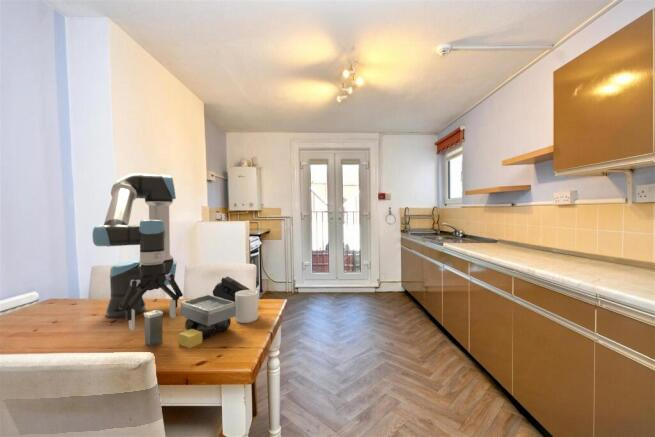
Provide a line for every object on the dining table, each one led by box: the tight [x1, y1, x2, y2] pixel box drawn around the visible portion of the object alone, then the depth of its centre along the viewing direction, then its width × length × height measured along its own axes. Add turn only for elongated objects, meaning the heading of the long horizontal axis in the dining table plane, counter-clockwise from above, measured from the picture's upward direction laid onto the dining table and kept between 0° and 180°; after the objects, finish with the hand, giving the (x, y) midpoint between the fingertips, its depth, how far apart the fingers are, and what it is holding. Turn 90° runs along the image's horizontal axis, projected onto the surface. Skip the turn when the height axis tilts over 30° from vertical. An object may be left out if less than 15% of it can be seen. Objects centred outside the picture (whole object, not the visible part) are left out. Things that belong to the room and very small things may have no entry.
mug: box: [235, 289, 259, 324], centre depth 127 cm, size 10×12×12 cm
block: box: [178, 329, 203, 349], centre depth 103 cm, size 6×5×4 cm
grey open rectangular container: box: [180, 294, 236, 339], centre depth 113 cm, size 18×13×12 cm
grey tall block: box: [143, 309, 164, 347], centre depth 103 cm, size 4×4×11 cm
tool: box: [212, 276, 251, 302], centre depth 142 cm, size 6×19×15 cm
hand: (153, 322), depth 103 cm, fingers open, 13 cm apart
